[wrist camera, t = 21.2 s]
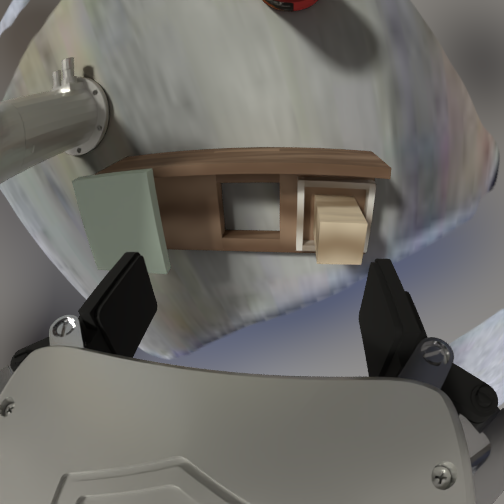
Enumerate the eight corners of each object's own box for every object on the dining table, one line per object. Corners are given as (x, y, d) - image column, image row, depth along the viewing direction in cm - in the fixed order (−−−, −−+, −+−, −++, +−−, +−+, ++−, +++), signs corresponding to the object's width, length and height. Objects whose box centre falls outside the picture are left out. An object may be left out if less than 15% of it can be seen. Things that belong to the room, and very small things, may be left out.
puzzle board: (126, 157, 38) (94, 174, 31) (371, 151, 34) (391, 168, 27) (143, 240, 46) (119, 269, 39) (361, 245, 41) (373, 278, 34)
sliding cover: (79, 177, 32) (72, 181, 30) (152, 168, 30) (146, 172, 29) (103, 263, 38) (97, 269, 37) (170, 267, 37) (166, 274, 36)
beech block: (314, 194, 36) (320, 221, 29) (353, 196, 35) (367, 223, 28) (313, 230, 38) (317, 263, 32) (349, 231, 38) (361, 264, 31)
